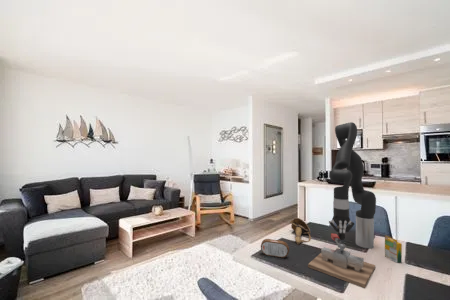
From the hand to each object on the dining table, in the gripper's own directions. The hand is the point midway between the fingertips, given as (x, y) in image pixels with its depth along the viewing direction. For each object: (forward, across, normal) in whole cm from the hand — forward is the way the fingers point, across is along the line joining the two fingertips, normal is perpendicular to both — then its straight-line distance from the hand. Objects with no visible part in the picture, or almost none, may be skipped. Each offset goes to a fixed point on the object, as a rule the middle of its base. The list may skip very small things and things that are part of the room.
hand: (341, 239), depth 119 cm
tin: (+10, +35, +1) cm, 37 cm away
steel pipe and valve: (+8, +4, +10) cm, 14 cm away
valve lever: (+2, +4, +5) cm, 6 cm away
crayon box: (+10, -26, -1) cm, 28 cm away
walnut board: (+10, +4, +10) cm, 15 cm away
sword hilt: (+10, +15, -26) cm, 32 cm away
